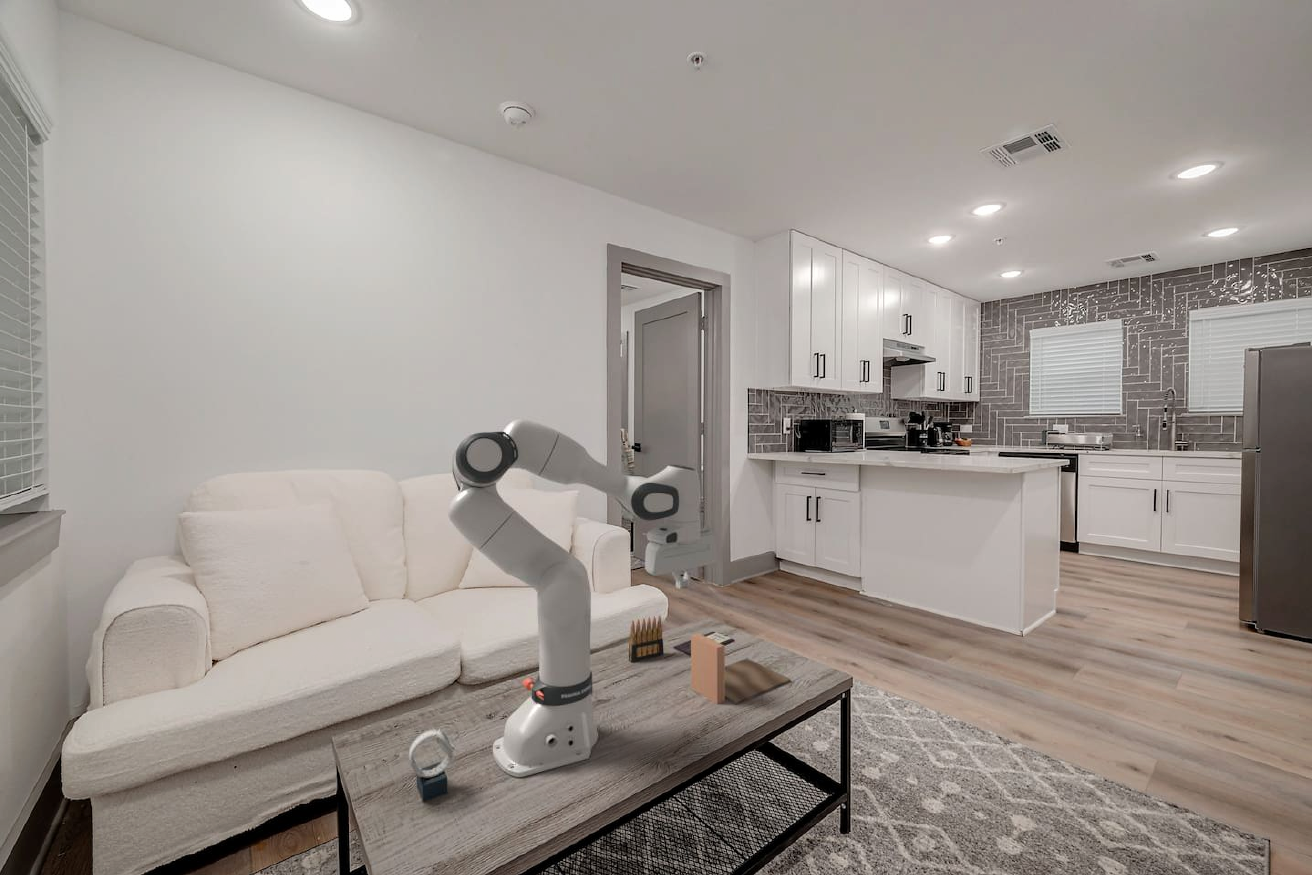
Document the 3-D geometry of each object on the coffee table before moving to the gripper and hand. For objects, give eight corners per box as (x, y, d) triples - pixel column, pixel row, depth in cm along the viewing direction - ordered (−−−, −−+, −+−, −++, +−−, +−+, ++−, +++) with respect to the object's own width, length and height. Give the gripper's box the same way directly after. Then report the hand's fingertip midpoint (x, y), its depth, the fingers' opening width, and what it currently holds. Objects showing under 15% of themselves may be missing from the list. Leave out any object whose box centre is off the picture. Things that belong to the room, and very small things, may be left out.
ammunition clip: (660, 653, 165) (660, 613, 165) (663, 655, 163) (663, 615, 163) (628, 660, 160) (628, 619, 160) (631, 662, 158) (631, 621, 158)
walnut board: (736, 704, 135) (736, 701, 135) (694, 679, 148) (694, 677, 148) (790, 681, 147) (790, 679, 147) (747, 660, 160) (747, 658, 160)
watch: (458, 789, 104) (457, 732, 104) (412, 806, 100) (411, 746, 99) (450, 773, 109) (449, 719, 108) (406, 789, 104) (405, 732, 104)
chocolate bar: (673, 646, 168) (713, 631, 180) (673, 649, 168) (713, 634, 180) (694, 655, 162) (734, 639, 174) (694, 659, 162) (734, 642, 174)
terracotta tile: (717, 704, 135) (717, 648, 135) (691, 688, 143) (691, 635, 143) (725, 700, 137) (725, 645, 136) (699, 685, 145) (698, 632, 144)
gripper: (705, 524, 143) (705, 576, 143) (641, 534, 130) (641, 591, 131) (722, 528, 137) (722, 582, 138) (657, 538, 125) (657, 598, 126)
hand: (682, 587), depth 134 cm, fingers closed
